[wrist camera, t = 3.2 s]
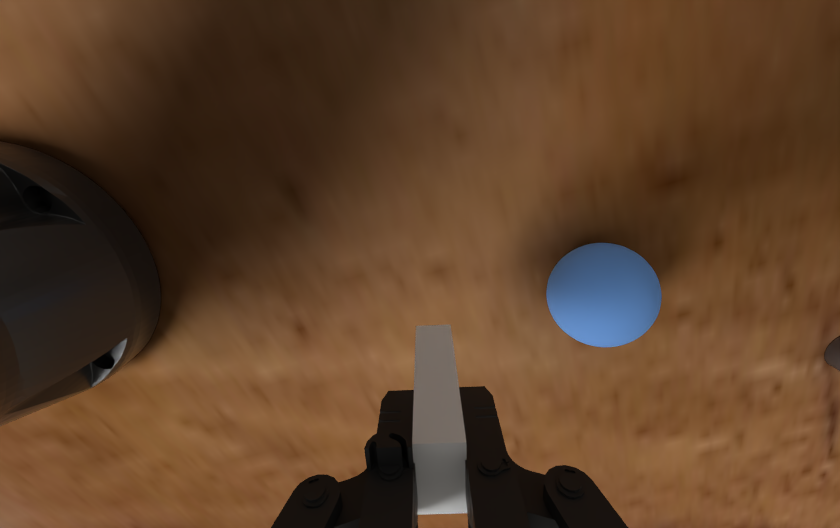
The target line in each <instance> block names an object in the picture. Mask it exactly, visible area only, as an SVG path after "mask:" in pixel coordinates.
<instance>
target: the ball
mask: <svg viewBox="0 0 840 528" xmlns="http://www.w3.org/2000/svg"><path fill="white" fill-rule="evenodd" d="M661 299H662V297H661V288H660V283H659V280H658V278H657V275H656V273H655V272H654V270H653V268H652V267H651V266H650V265H649V263H648V262H647V261H646V260H645V259H644V258H643V257H641V256H640V255H639V254H637V253H636V252H634V251H632V250H630V249H628V248H626V247H624V246H620V245H617V244H612V243H592V244H587V245H584V246H581V247H578V248H576V249H574V250H572V251H571V252H569V253H567V254H566V255H565V256H564V257H562V259H561V260H560V261H559V262H558V263H557V264H556V265H555V267H554V269H553V270H552V272H551V274H550V277H549V280H548V283H547V303H548V307H549V310H550V312H551V315H552V317H553V318H554V320H555V322H556V323H557V324H558V326H559V327H560V328H561V329H562V330H563V331H564V332H565V333H567V334H568V335H569V336H571V337H572V338H574V339H576V340H577V341H580V342H582V343H584V344H588V345H592V346H596V347H616V346H621V345H624V344H627V343H629V342H632V341H634V340H636V339H637V338H639V337H640V336H642V335H643V334H644V333H645V332H646V331H647V330H648V329H649V328H650V327H651V326H652V324H653V323H654V321H655V320H656V318H657V316H658V313H659V310H660V306H661Z"/></svg>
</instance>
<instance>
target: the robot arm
mask: <svg viewBox="0 0 840 528" xmlns="http://www.w3.org/2000/svg"><path fill="white" fill-rule="evenodd" d="M160 304H161V291H160V283H159V278H158V273H157V269H156V266H155V263H154V260H153V257H152V255H151V253H150V251H149V248H148V246H147V244H146V242H145V240H144V239H143V237H142V235H141V234H140V232H139V230H138V229H137V227H136V226H135V225H134V223H133V222H132V220H131V219H130V218H129V217H128V215H127V214H126V213H125V212H124V210H123V209H122V208H121V207H120V206H119V205H118V204H117V203H116V202H115V201H114V200H113V199H112V198H111V197H110V196H109V195H108V194H107V193H106V192H105V191H104V190H103V189H101V188H100V187H99V186H98V185H97V184H95V183H94V182H93V181H92V180H90V179H89V178H87V177H86V176H85V175H83V174H82V173H80V172H79V171H77V170H75V169H74V168H72V167H70V166H69V165H67V164H65V163H63V162H61V161H59V160H57V159H55V158H53V157H51V156H49V155H46V154H44V153H42V152H39V151H36V150H33V149H30V148H27V147H24V146H20V145H16V144H12V143H7V142H0V426H2V425H5V424H7V423H9V422H12V421H14V420H17V419H19V418H21V417H24V416H26V415H29V414H31V413H33V412H36V411H38V410H41V409H43V408H45V407H48V406H50V405H53V404H55V403H57V402H60V401H62V400H65V399H67V398H69V397H72V396H74V395H77V394H79V393H81V392H84V391H86V390H88V389H91V388H93V387H95V386H96V385H98V384H100V383H101V382H103V381H105V380H106V379H108V378H109V377H111V376H112V375H113V374H115V373H116V372H117V371H118V370H119V369H121V368H122V367H123V366H124V365H125V364H127V363H128V362H129V361H130V360H131V359H132V358H134V357H135V356H136V355H137V354H138V353H139V352H140V351H141V350H142V349H143V348H144V347H145V345H146V344H147V343H148V341H149V339H150V338H151V336H152V334H153V332H154V330H155V327H156V325H157V322H158V318H159V313H160ZM364 449H365V457H366V464H367V469H366V470H365V471H364V472H362V473H361V474H359V475H358V476H356V477H353V478H351V479H348V480H345V481H342V482H339V483H338V482H337V481H336V479H335V478H334V477H331V476H329V475H315V476H312V477H309V478H307V479H306V480H304V481H303V482H301V483H300V484H299V485H298V486H297V487H296V489H295V490H294V491H293V493H292V494H291V496H290V498H289V499H288V501H287V502H286V504H285V506H284V507H283V509H282V511H281V512H280V514H279V516H278V517H277V519H276V520H275V522H274V524H273V525H272V527H271V528H418V522H417V519H418V515H419V514H452V513H468V528H628V527H627V526H626V524H625V523H624V522H623V520H622V519H621V518H620V516H619V515H618V514H617V512H616V511H615V510H614V508H613V507H612V506H611V504H610V503H609V502H608V500H607V499H606V498H605V496H604V495H603V494H602V493H601V491H600V490H599V489H598V487H597V486H596V485H595V483H594V482H593V481H592V480H591V479H590V478H589V477H588V476H587V475H586V474H585V473H584V472H582V471H580V470H579V469H577V468H574V467H570V466H566V465H563V466H555V467H553V468H551V469H549V470H548V472H547V473H546V474H545V475H544V474H540V473H536V472H532V471H529V470H526V469H524V468H522V467H520V466H518V465H517V464H516V463H515V462H514V461H512V459H511V458H510V457H509V455H508V453H507V451H506V447H505V443H504V439H503V435H502V431H501V427H500V423H499V419H498V416H497V411H496V409H495V404H494V400H493V396H492V394H491V393H490V392H489V391H488V390H487V389H486V388H485V386H482V387H459V384H458V376H457V369H456V361H455V354H454V347H453V339H452V332H451V325H430V326H416V343H415V373H414V390H402V391H388V393H387V394H386V395H385V397H384V398H383V400H382V402H381V409H380V415H379V423H378V429H377V434H375V435H373V436H372V437H371V438H370V439H369V440H368V441H367V443H366V446H365V448H364Z"/></svg>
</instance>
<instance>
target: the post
mask: <svg viewBox="0 0 840 528" xmlns="http://www.w3.org/2000/svg"><path fill="white" fill-rule="evenodd" d="M825 360H826V362H827V363H828V364H829V365H831V366H832V367H834V368H836V369H837V370H839V371H840V337H838V338H836V339H835V340H834V341H832V342H831V343H830V344H829V346H828V347H827V349H826V351H825Z"/></svg>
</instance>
